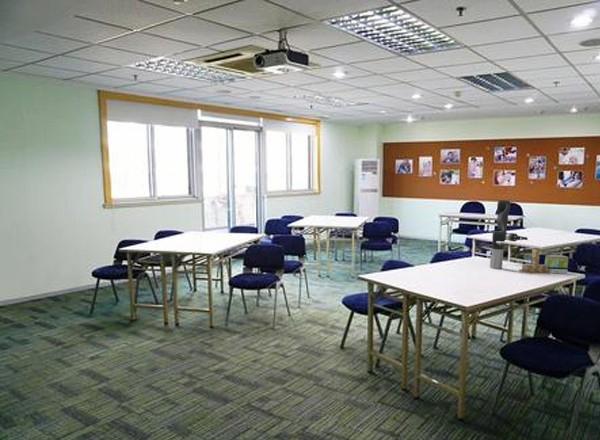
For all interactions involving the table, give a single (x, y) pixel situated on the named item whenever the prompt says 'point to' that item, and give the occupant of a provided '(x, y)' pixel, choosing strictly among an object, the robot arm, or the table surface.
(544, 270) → the ridge board
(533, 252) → the post
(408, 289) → the table surface
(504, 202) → the robot arm
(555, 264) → the tea box
